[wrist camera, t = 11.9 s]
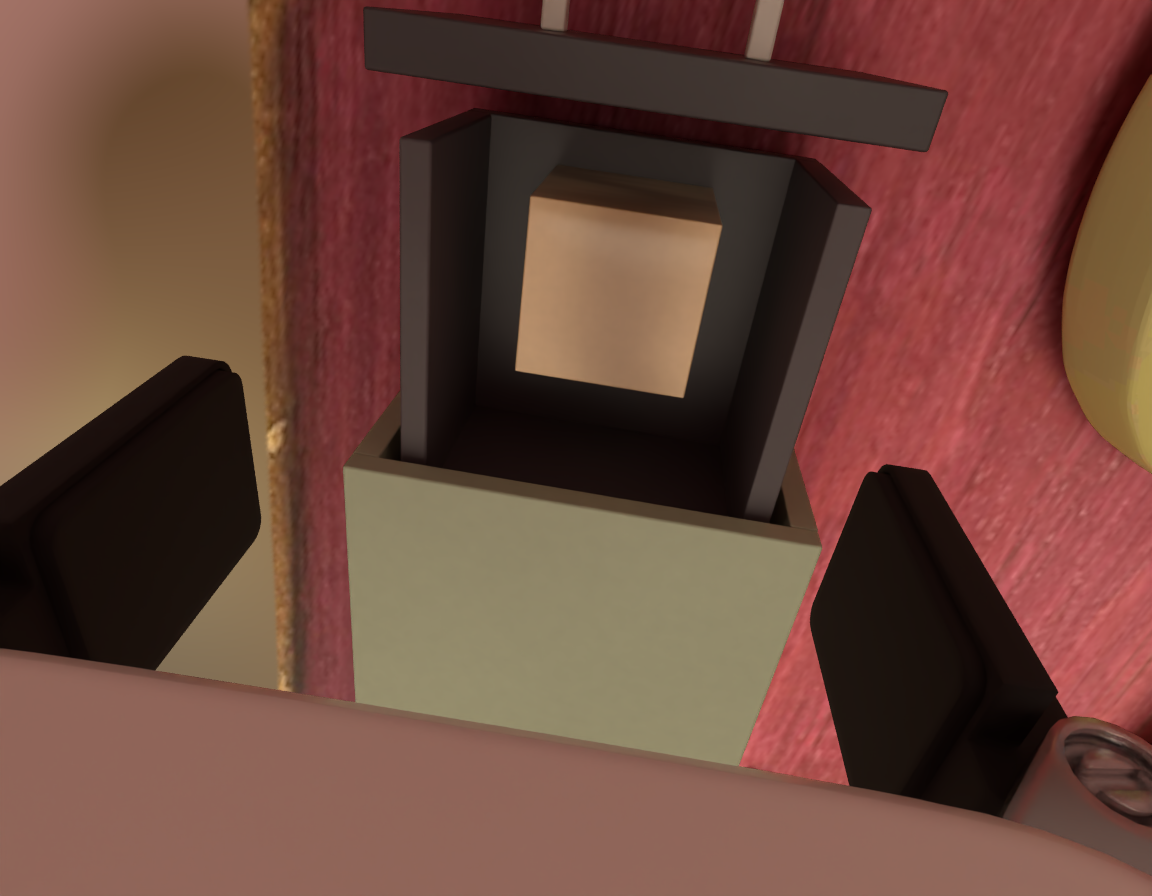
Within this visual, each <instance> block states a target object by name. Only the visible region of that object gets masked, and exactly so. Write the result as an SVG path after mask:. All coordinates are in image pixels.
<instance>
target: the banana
mask: <svg viewBox="0 0 1152 896" xmlns="http://www.w3.org/2000/svg"><path fill="white" fill-rule="evenodd" d="M1062 354H1063V363H1064V368H1065V372H1066V375H1067V378H1068V380H1069V383H1070V385H1071V388H1072V390H1073V392H1074V394H1075V396H1076V398H1077V400H1078V402H1079V404H1080V406H1081V408H1082V410H1083V412H1084V414H1085V416H1086V417H1087V419H1088V421H1089V422H1090V424H1091V425H1092V426H1093V428H1094V429H1095V430H1096V431H1097V432H1098V433H1099V434H1100V435H1101V436H1102V437H1103V438H1104V439H1105V440H1107V441H1108V442H1109V443H1110V444H1111V445H1113V446H1114V447H1115V448H1116V449H1118V450H1119V451H1120V452H1122V453H1123V454H1124V455H1125V456H1127V457H1128V458H1129V459H1131V460H1132V461H1134V462H1135V463H1136V464H1138V465H1139V466H1141V467H1142V468H1144V469H1145V470H1146V471H1148V472H1149V473H1151V474H1152V73H1151V75H1150V77H1149V78H1148V80H1147V82H1146V83H1145V85H1144V87H1143V88H1142V90H1141V92H1140V93H1139V95H1138V97H1137V99H1136V100H1135V102H1134V104H1133V106H1132V107H1131V109H1130V111H1129V113H1128V115H1127V117H1126V119H1125V121H1124V123H1123V125H1122V126H1121V128H1120V130H1119V132H1118V134H1117V136H1116V138H1115V140H1114V143H1113V145H1112V147H1111V149H1110V151H1109V153H1108V155H1107V157H1106V159H1105V161H1104V164H1103V166H1102V168H1101V170H1100V173H1099V175H1098V177H1097V180H1096V182H1095V185H1094V187H1093V190H1092V193H1091V195H1090V198H1089V201H1088V203H1087V206H1086V209H1085V212H1084V215H1083V218H1082V221H1081V224H1080V227H1079V230H1078V234H1077V237H1076V240H1075V244H1074V247H1073V251H1072V255H1071V259H1070V263H1069V267H1068V272H1067V277H1066V283H1065V289H1064V296H1063V306H1062Z"/></svg>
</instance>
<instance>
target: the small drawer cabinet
mask: <svg viewBox="0 0 1152 896" xmlns="http://www.w3.org/2000/svg"><path fill="white" fill-rule="evenodd" d="M343 475H344V494H345V512H346V531H347V550H348V569H349V588H350V607H351V625H352V644H353V663H354V682H355V701H356V703H362V704H368V705H374V706H380V707H386V708H393V709H399V710H405V711H411V712H417V713H423V714H429V715H436V716H442V717H448V718H454V719H460V720H466V721H472V722H478V723H484V724H490V725H496V726H502V727H508V728H514V729H521V730H527V731H533V732H539V733H545V734H551V735H557V736H563V737H569V738H575V739H581V740H587V741H593V742H599V743H605V744H610V745H616V746H622V747H628V748H634V749H640V750H646V751H652V752H658V753H663V754H669V755H675V756H681V757H687V758H693V759H699V760H705V761H710V762H716V763H722V764H728V765H734V766H739V764H740V761H741V759H742V756H743V753H744V751H745V748H746V746H747V743H748V740H749V738H750V735H751V733H752V730H753V727H754V725H755V722H756V720H757V717H758V714H759V712H760V709H761V707H762V704H763V701H764V699H765V696H766V694H767V691H768V688H769V686H770V683H771V680H772V678H773V675H774V673H775V670H776V667H777V665H778V662H779V660H780V657H781V654H782V652H783V649H784V647H785V644H786V641H787V639H788V636H789V634H790V631H791V628H792V626H793V623H794V621H795V618H796V615H797V613H798V610H799V608H800V605H801V602H802V600H803V597H804V595H805V592H806V589H807V587H808V584H809V582H810V579H811V576H812V574H813V571H814V569H815V566H816V563H817V561H818V558H819V556H820V553H821V550H822V545H821V542H820V538H819V535H818V533H817V532H818V529H817V526H816V523H815V519H814V516H813V512H812V509H811V505H810V502H809V499H808V495H807V492H806V488H805V485H804V481H803V478H802V475H801V471H800V468H799V464H798V461H797V457H796V454H795V451H794V449H793V452H792V455H791V458H790V461H789V464H788V467H787V470H786V473H785V476H784V479H783V482H782V485H781V488H780V492H779V495H778V498H777V501H776V504H775V507H774V510H773V513H772V516H771V519H770V522H769V523H763V522H757V521H751V520H745V519H739V518H734V517H728V516H722V515H716V514H710V513H704V512H698V511H692V510H686V509H680V508H674V507H668V506H662V505H656V504H651V503H645V502H639V501H633V500H627V499H621V498H615V497H609V496H603V495H597V494H591V493H585V492H579V491H573V490H568V489H562V488H556V487H550V486H544V485H538V484H532V483H526V482H520V481H514V480H508V479H502V478H496V477H490V476H485V475H479V474H473V473H467V472H461V471H455V470H449V469H443V468H437V467H431V466H425V465H419V464H413V463H407V462H402V461H401V402H400V391H399V393H398V394H397V395H396V397H395V398H394V399H393V401H392V402H391V403H390V405H389V406H388V407H387V409H386V410H385V411H384V413H383V414H382V415H381V417H380V418H379V419H378V421H377V422H376V423H375V424H374V426H373V427H372V428H371V430H370V431H369V432H368V434H367V435H366V436H365V438H364V439H363V440H362V442H361V443H360V444H359V446H358V447H357V448H356V450H355V451H354V454H352V456H351V457H350V458H349V460H348V461H347V462H346V464H345V465H344V467H343Z"/></svg>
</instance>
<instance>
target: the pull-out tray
mask: <svg viewBox="0 0 1152 896" xmlns="http://www.w3.org/2000/svg"><path fill="white" fill-rule="evenodd" d="M783 4H784V0H756V2H755V7H754V12H753V16H752V21H751V26H750V30H749V35H748V40H747V44H746V49H745V54H744V55H739V54H732V53H725V52H718V51H711V50H704V49H698V48H691V47H684V46H677V45H670V44H663V43H656V42H649V41H642V40H635V39H628V38H622V37H615V36H608V35H601V34H594V33H587V32H580V31H573V30H567V27H568V18H569V8H570V0H543V3H542V15H541V26H539V25H532V24H525V23H518V22H511V21H504V20H497V19H490V18H483V17H477V16H470V15H463V14H453V13H441V12H429V11H416V10H404V9H391V8H379V7H364V9H363V14H364V53H365V68H366V69H367V70H373V71H380V72H386V73H393V74H400V75H407V76H413V77H420V78H427V79H434V80H440V81H447V82H454V83H460V84H467V85H474V86H481V87H487V88H494V89H501V90H508V91H514V92H521V93H528V94H535V95H541V96H548V97H555V98H562V99H568V100H575V101H582V102H589V103H595V104H602V105H609V106H615V107H622V108H629V109H636V110H642V111H649V112H656V113H663V114H669V115H676V116H683V117H690V118H696V119H703V120H710V121H717V122H723V123H730V124H737V125H744V126H750V127H757V128H764V129H770V130H777V131H784V132H791V133H797V134H804V135H811V136H818V137H824V138H831V139H838V140H845V141H851V142H858V143H865V144H872V145H878V146H885V147H892V148H899V149H905V150H912V151H919V152H927V151H928V150H929V147H930V144H931V141H932V138H933V136H934V133H935V130H936V127H937V124H938V121H939V119H940V116H941V113H942V110H943V107H944V104H945V102H946V99H947V96H948V92H947V91H946V90H941V89H936V88H932V87H927V86H923V85H918V84H913V83H909V82H904V81H900V80H895V79H890V78H886V77H881V76H877V75H872V74H867V73H863V72H856V71H850V70H843V69H836V68H829V67H822V66H815V65H808V64H801V63H794V62H787V61H780V60H774V59H771V56H772V52H773V47H774V43H775V39H776V34H777V30H778V26H779V22H780V17H781V13H782V9H783ZM557 165H564V166H570V167H577V168H583V169H590V170H596V171H603V172H610V173H616V174H623V175H629V176H636V177H642V178H649V179H656V180H662V181H669V182H675V183H682V184H688V185H695V186H702V187H708V188H712V189H713V191H714V195H715V199H716V203H717V207H718V211H719V214H720V218H721V222H722V231H721V236H720V240H719V245H718V249H717V253H716V258H715V262H714V267H713V271H712V276H711V280H710V284H709V289H708V293H707V298H706V302H705V307H704V311H703V315H702V320H701V324H700V329H699V333H698V338H697V342H696V346H695V351H694V355H693V360H692V364H691V368H690V373H689V377H688V382H687V386H686V391H685V395H684V397H683V398H679V397H673V396H666V395H660V394H654V393H648V392H642V391H636V390H630V389H624V388H617V387H611V386H605V385H599V384H593V383H587V382H581V381H575V380H568V379H562V378H556V377H550V376H544V375H538V374H532V373H526V372H520V371H515V362H516V351H517V340H518V328H519V317H520V305H521V294H522V282H523V271H524V259H525V248H526V236H527V225H528V213H529V202H530V196H531V195H532V193H533V192H534V191H535V190H536V189H537V188H538V186H539V185H540V184H541V183H542V182H543V181H544V179H545V178H546V177H547V176H548V175H549V174H550V172H551V171H552V170H553V169H554V168H555V167H556V166H557ZM871 211H872V209H871V208H870V207H869V206H868V205H867V204H866V203H865V202H864V201H863V200H861V199H860V198H859V197H858V196H857V195H856V194H855V193H854V192H852V191H851V190H850V189H849V188H848V187H847V186H846V185H845V184H843V183H842V182H841V181H840V180H839V179H838V178H837V177H836V176H834V175H833V174H832V173H831V172H830V171H829V170H828V169H827V168H825V167H824V166H823V165H822V164H821V163H820V162H818V161H817V160H816V159H813V158H806V157H799V156H793V155H786V154H779V153H773V152H766V151H759V150H753V149H746V148H739V147H733V146H726V145H719V144H712V143H706V142H699V141H692V140H686V139H679V138H672V137H666V136H659V135H652V134H646V133H639V132H632V131H626V130H619V129H612V128H605V127H599V126H592V125H585V124H579V123H572V122H565V121H559V120H552V119H545V118H539V117H532V116H525V115H519V114H512V113H505V112H498V111H492V110H485V109H478V108H473V109H471V110H468V111H467V112H464V113H462V114H459V115H456V116H454V117H451V118H449V119H446V120H444V121H441V122H439V123H436V124H433V125H431V126H428V127H426V128H423V129H421V130H418V131H416V132H413V133H410V134H408V135H405V136H403V137H401V138H400V402H401V461H402V462H407V463H413V464H419V465H425V466H431V467H437V468H443V469H449V470H455V471H461V472H467V473H473V474H479V475H485V476H490V477H496V478H502V479H508V480H514V481H520V482H526V483H532V484H538V485H544V486H550V487H556V488H562V489H568V490H573V491H579V492H585V493H591V494H597V495H603V496H609V497H615V498H621V499H627V500H633V501H639V502H645V503H651V504H656V505H662V506H668V507H674V508H680V509H686V510H692V511H698V512H704V513H710V514H716V515H722V516H728V517H734V518H739V519H745V520H751V521H757V522H763V523H769V522H770V519H771V516H772V513H773V510H774V507H775V504H776V501H777V498H778V495H779V492H780V488H781V485H782V482H783V479H784V476H785V473H786V470H787V467H788V464H789V461H790V458H791V455H792V452H793V449H794V446H795V443H796V440H797V437H798V434H799V430H800V427H801V424H802V421H803V418H804V415H805V412H806V409H807V406H808V403H809V400H810V397H811V394H812V391H813V388H814V385H815V382H816V379H817V376H818V372H819V369H820V366H821V363H822V360H823V357H824V354H825V351H826V348H827V345H828V342H829V339H830V336H831V333H832V330H833V327H834V324H835V321H836V318H837V314H838V311H839V308H840V305H841V302H842V299H843V296H844V293H845V290H846V287H847V284H848V281H849V278H850V275H851V272H852V269H853V266H854V263H855V260H856V256H857V253H858V250H859V247H860V244H861V241H862V238H863V235H864V232H865V229H866V226H867V223H868V220H869V217H870V214H871Z"/></svg>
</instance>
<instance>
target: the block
mask: <svg viewBox="0 0 1152 896" xmlns="http://www.w3.org/2000/svg"><path fill="white" fill-rule="evenodd" d="M721 231H722V222H721V218H720V214H719V211H718V207H717V203H716V199H715V195H714V191H713V189H712V188H708V187H702V186H695V185H688V184H682V183H675V182H669V181H662V180H656V179H649V178H642V177H636V176H629V175H623V174H616V173H610V172H603V171H596V170H590V169H583V168H577V167H570V166H564V165H557V166H556V167H555V168H554V169H553V170H552V171H551V172H550V174H549V175H548V176H547V177H546V178H545V179H544V181H543V182H542V183H541V184H540V185H539V186H538V188H537V189H536V190H535V191H534V192H533V193H532V195H531V196H530V202H529V213H528V225H527V236H526V248H525V259H524V271H523V282H522V294H521V305H520V317H519V328H518V340H517V351H516V362H515V371H520V372H526V373H532V374H538V375H544V376H550V377H556V378H562V379H568V380H575V381H581V382H587V383H593V384H599V385H605V386H611V387H617V388H624V389H630V390H636V391H642V392H648V393H654V394H660V395H666V396H673V397H679V398H683V397H684V395H685V391H686V386H687V382H688V377H689V373H690V368H691V364H692V360H693V355H694V351H695V346H696V342H697V338H698V333H699V329H700V324H701V320H702V315H703V311H704V307H705V302H706V298H707V293H708V289H709V284H710V280H711V276H712V271H713V267H714V262H715V258H716V253H717V249H718V245H719V240H720V236H721Z"/></svg>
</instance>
